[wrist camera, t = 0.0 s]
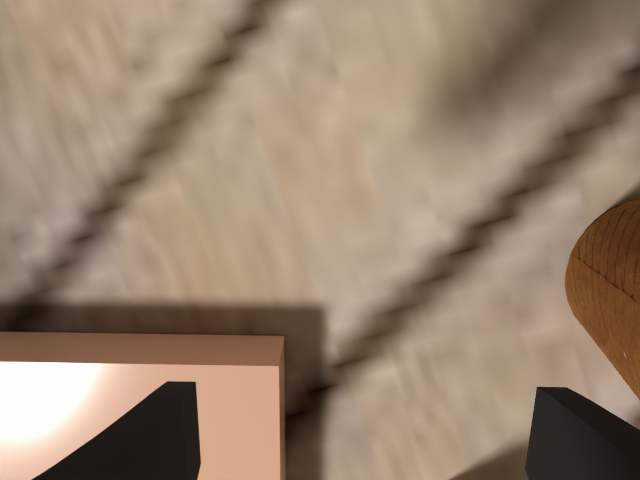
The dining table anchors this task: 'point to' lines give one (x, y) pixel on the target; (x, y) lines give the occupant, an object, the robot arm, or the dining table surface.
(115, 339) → the terracotta base
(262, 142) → the dining table surface
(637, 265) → the disposable coffee cup
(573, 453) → the robot arm
